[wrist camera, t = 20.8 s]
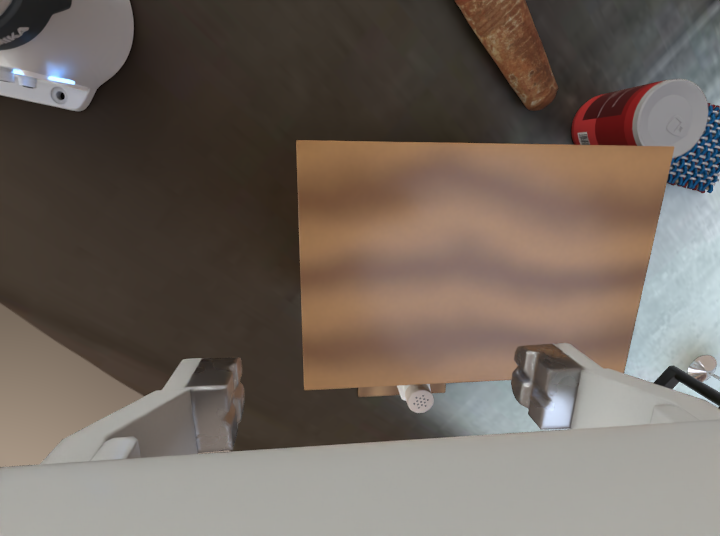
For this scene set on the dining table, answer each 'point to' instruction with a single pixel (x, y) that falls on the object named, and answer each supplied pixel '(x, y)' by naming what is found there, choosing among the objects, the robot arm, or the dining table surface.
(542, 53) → the bread
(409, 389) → the pepper shaker
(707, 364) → the wineglass
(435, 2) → the dining table surface
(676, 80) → the canned food
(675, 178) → the woven mat
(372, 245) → the cupboard
